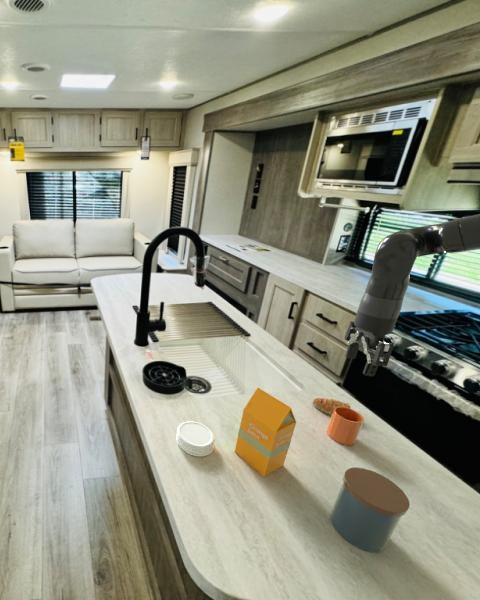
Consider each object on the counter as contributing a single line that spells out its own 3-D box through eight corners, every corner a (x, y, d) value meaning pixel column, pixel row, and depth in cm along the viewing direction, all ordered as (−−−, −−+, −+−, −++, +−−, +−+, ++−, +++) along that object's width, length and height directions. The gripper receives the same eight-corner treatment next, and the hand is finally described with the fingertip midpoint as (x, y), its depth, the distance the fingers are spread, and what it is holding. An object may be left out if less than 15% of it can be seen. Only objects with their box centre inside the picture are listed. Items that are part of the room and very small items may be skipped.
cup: (347, 429, 91) (355, 408, 88) (359, 447, 85) (369, 424, 83) (322, 426, 93) (329, 405, 90) (333, 443, 87) (341, 420, 84)
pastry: (311, 410, 99) (314, 401, 97) (311, 399, 104) (314, 389, 103) (349, 422, 94) (353, 412, 92) (347, 409, 99) (351, 400, 98)
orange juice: (253, 441, 88) (267, 383, 81) (283, 465, 80) (302, 403, 73) (233, 451, 85) (246, 391, 78) (263, 477, 77) (281, 413, 70)
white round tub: (221, 451, 85) (223, 442, 84) (190, 461, 82) (191, 451, 81) (197, 426, 94) (199, 417, 92) (169, 434, 91) (170, 425, 90)
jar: (369, 511, 69) (387, 471, 65) (399, 559, 61) (423, 517, 56) (320, 502, 71) (335, 463, 67) (342, 548, 63) (361, 506, 58)
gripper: (417, 324, 71) (392, 383, 77) (377, 302, 84) (359, 354, 90) (378, 322, 73) (357, 380, 79) (345, 300, 86) (329, 351, 91)
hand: (358, 366), depth 84 cm, fingers open, 8 cm apart
